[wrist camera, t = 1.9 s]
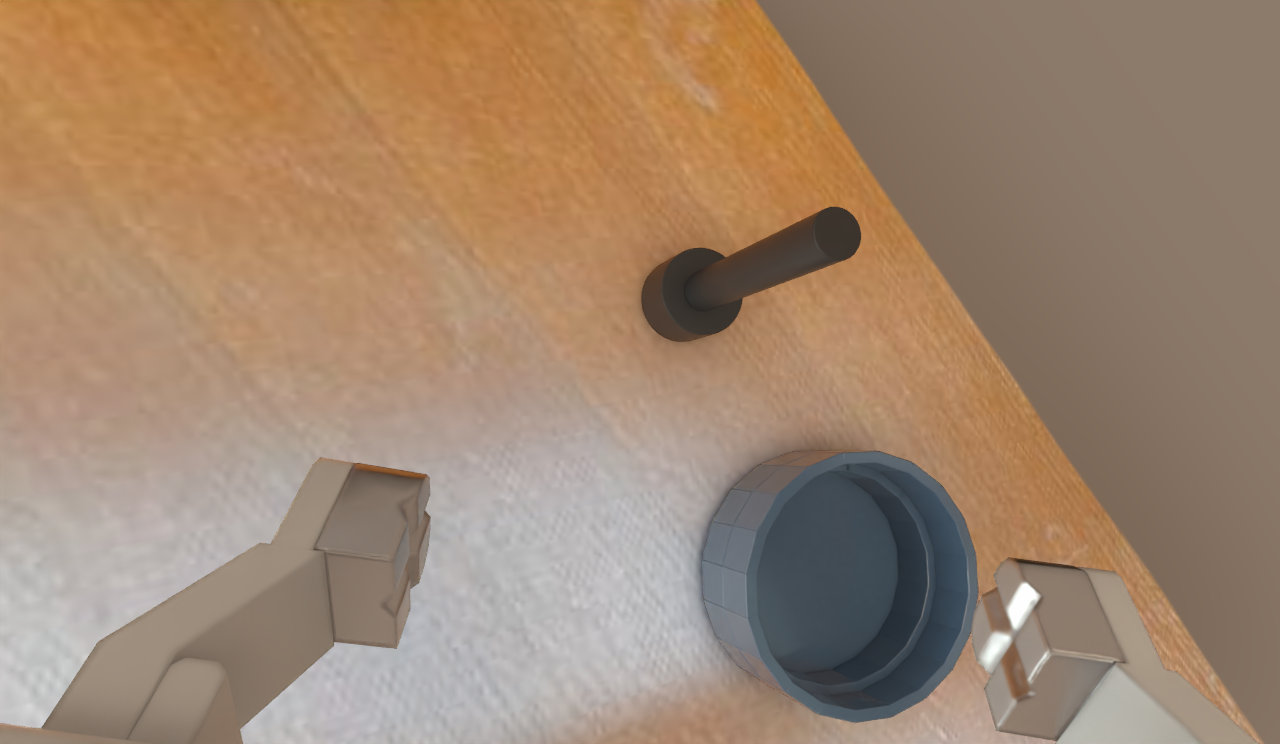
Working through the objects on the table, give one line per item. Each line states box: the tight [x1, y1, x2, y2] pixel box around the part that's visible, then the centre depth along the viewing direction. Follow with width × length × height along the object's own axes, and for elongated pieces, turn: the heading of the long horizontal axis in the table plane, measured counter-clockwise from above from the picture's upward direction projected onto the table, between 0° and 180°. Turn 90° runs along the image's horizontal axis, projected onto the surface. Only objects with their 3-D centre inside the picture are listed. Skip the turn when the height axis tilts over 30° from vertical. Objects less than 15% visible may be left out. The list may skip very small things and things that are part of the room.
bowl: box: [702, 450, 978, 723], centre depth 46 cm, size 13×13×6 cm
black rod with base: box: [642, 207, 861, 342], centre depth 40 cm, size 4×4×16 cm
